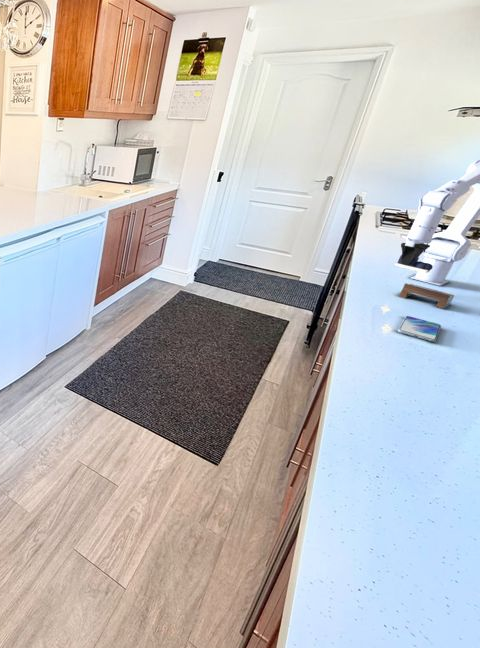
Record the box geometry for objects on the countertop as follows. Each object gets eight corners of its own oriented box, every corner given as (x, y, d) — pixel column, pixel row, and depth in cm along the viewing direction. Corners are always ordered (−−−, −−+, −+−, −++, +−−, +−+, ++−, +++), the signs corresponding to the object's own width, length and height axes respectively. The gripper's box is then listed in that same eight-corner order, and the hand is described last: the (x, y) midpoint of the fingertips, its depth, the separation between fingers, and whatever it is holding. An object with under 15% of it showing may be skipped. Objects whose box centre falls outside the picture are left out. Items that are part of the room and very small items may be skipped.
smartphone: (398, 329, 112) (406, 315, 120) (396, 332, 112) (405, 317, 121) (436, 340, 106) (441, 324, 115) (434, 343, 107) (440, 327, 115)
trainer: (394, 265, 144) (399, 255, 143) (398, 264, 146) (403, 253, 144) (428, 273, 137) (433, 262, 136) (431, 272, 139) (437, 261, 138)
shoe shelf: (406, 292, 139) (412, 280, 138) (449, 304, 131) (456, 291, 129) (398, 296, 136) (404, 283, 134) (442, 308, 128) (450, 295, 126)
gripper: (415, 221, 144) (399, 257, 149) (401, 225, 138) (384, 262, 143) (444, 226, 139) (425, 263, 144) (430, 230, 132) (411, 269, 137)
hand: (406, 263), depth 143 cm, fingers closed on trainer, 3 cm apart
